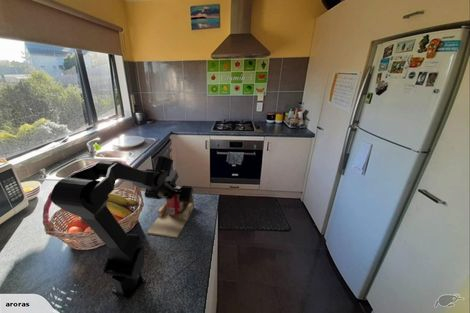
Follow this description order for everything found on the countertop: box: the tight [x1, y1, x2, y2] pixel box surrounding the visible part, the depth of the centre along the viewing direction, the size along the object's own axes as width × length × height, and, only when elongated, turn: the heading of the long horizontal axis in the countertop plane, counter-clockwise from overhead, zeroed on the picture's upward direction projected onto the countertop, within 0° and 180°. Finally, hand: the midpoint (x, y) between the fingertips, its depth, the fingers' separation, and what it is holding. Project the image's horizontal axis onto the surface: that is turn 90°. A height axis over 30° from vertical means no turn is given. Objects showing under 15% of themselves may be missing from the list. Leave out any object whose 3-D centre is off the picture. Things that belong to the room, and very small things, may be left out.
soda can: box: [165, 184, 183, 215], centre depth 87 cm, size 7×7×12 cm
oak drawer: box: [146, 194, 195, 238], centre depth 85 cm, size 19×12×7 cm, turn 172°
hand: (176, 196), depth 88 cm, fingers closed on soda can, 7 cm apart
